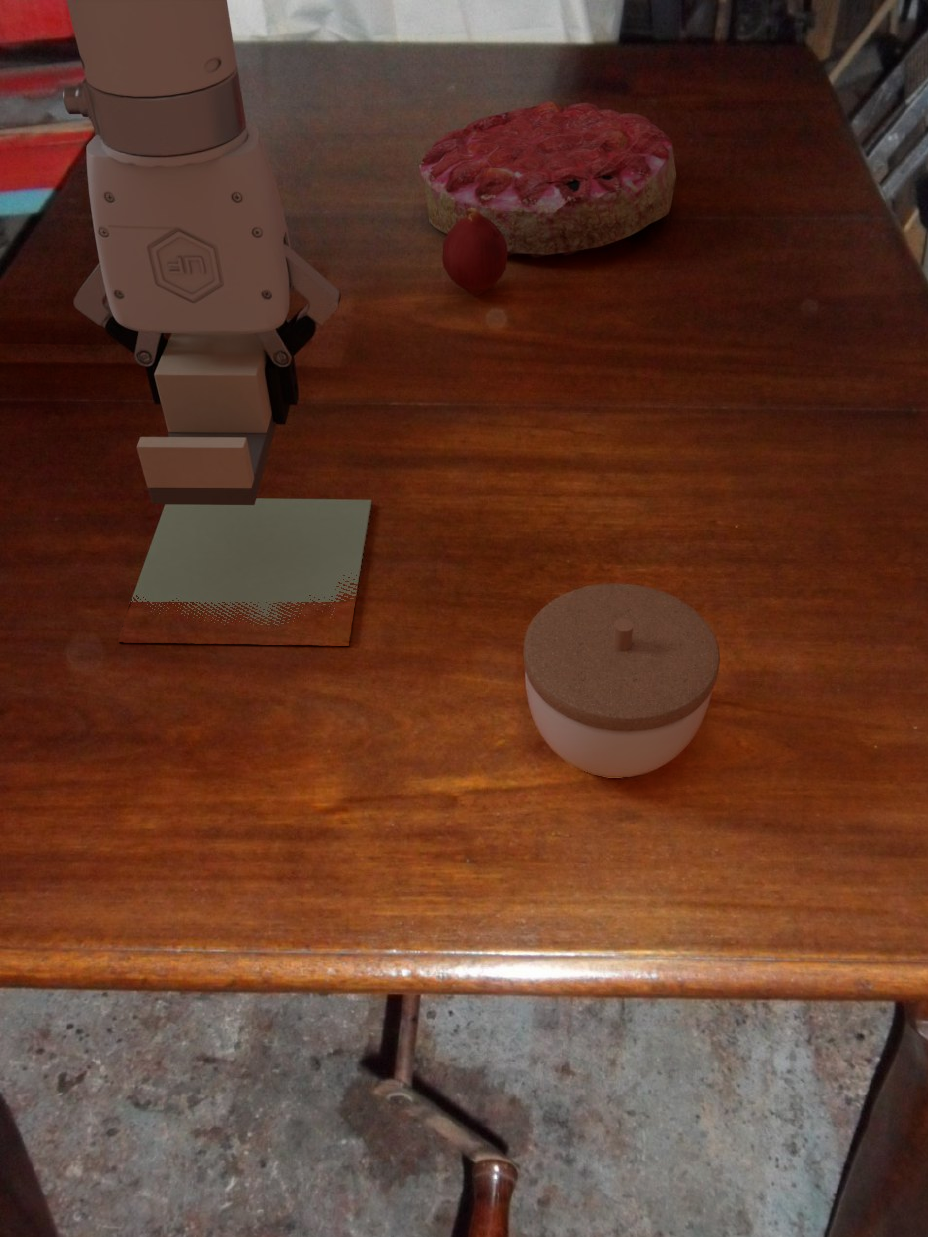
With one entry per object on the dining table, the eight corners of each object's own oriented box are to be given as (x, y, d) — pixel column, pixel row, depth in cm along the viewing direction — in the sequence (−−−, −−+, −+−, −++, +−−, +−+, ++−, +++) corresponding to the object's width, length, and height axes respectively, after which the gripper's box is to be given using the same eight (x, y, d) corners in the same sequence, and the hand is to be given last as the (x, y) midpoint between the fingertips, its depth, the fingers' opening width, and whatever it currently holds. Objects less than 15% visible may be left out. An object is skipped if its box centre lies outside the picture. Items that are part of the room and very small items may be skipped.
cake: (721, 233, 111) (727, 146, 106) (477, 288, 106) (470, 200, 101) (614, 152, 128) (614, 74, 123) (399, 197, 123) (390, 117, 118)
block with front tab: (254, 505, 67) (239, 428, 63) (152, 505, 67) (130, 428, 63) (292, 367, 77) (281, 294, 73) (202, 367, 77) (187, 294, 73)
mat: (118, 643, 75) (117, 639, 74) (168, 501, 85) (167, 497, 85) (349, 647, 74) (348, 642, 74) (371, 503, 84) (371, 499, 84)
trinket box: (523, 811, 65) (526, 698, 58) (519, 675, 72) (521, 560, 65) (713, 810, 65) (739, 696, 58) (690, 674, 72) (710, 558, 65)
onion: (476, 272, 109) (475, 187, 103) (520, 293, 106) (521, 207, 100) (431, 294, 106) (427, 207, 100) (474, 316, 103) (473, 228, 97)
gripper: (-20, 139, 57) (78, 446, 70) (327, 138, 57) (360, 448, 70) (26, 84, 62) (109, 379, 75) (344, 83, 62) (372, 380, 75)
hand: (229, 409), depth 72 cm, fingers closed on block with front tab, 6 cm apart
